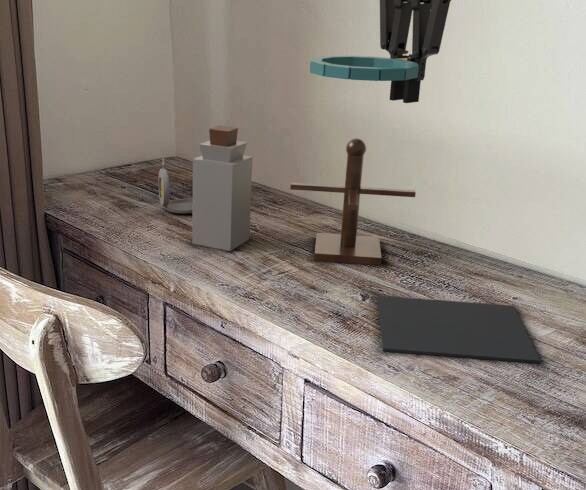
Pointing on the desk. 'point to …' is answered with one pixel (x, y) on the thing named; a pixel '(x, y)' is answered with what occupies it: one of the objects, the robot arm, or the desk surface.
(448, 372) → the desk surface
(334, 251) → the stand
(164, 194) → the pocket watch
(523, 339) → the mat
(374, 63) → the ring
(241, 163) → the perfume bottle
